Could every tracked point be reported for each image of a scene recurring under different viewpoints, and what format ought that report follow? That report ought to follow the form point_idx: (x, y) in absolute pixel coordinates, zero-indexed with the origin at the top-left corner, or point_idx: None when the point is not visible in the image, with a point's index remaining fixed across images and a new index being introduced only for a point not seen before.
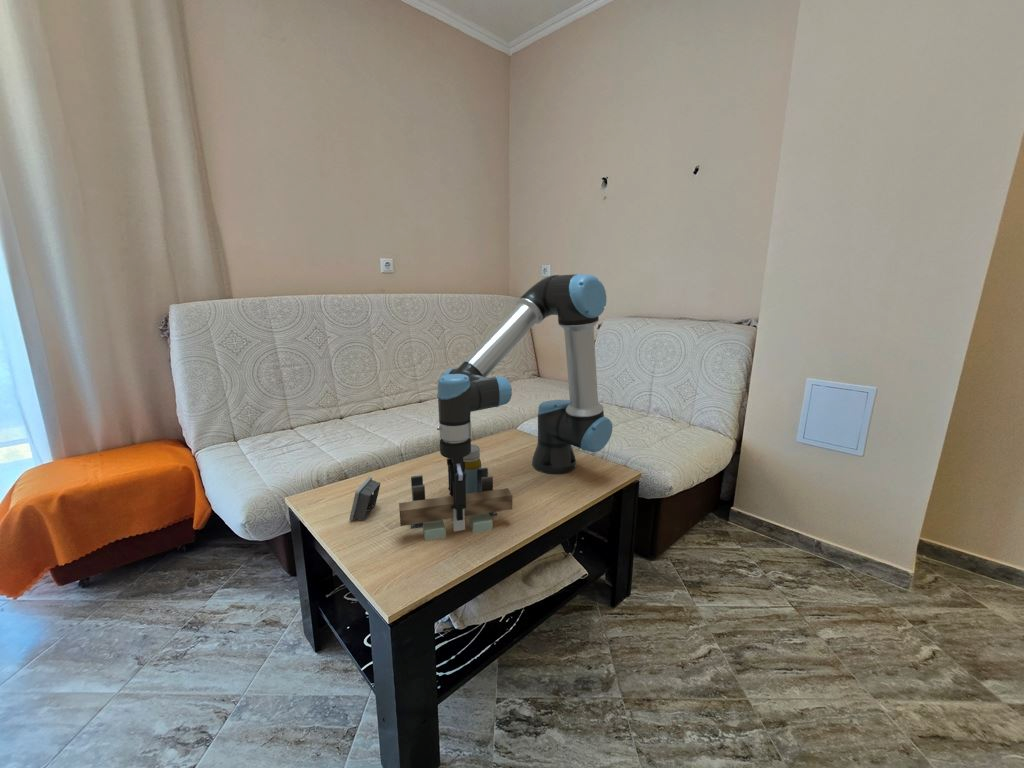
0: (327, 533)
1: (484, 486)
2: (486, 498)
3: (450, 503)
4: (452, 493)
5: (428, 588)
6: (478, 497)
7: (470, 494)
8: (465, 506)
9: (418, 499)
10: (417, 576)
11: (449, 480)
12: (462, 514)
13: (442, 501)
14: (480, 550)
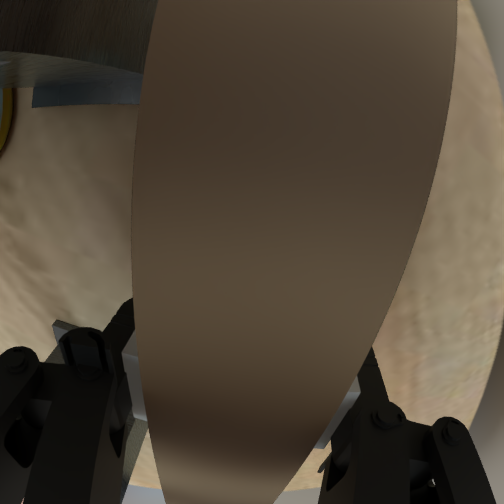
0: (147, 484)
1: (23, 18)
2: (436, 107)
3: (286, 474)
4: (119, 430)
5: (471, 404)
6: (334, 217)
7: (170, 295)
8: (468, 439)
9: (123, 480)
10: (421, 422)
11: (23, 490)
12: (378, 370)
13: (227, 488)
14: (467, 232)
